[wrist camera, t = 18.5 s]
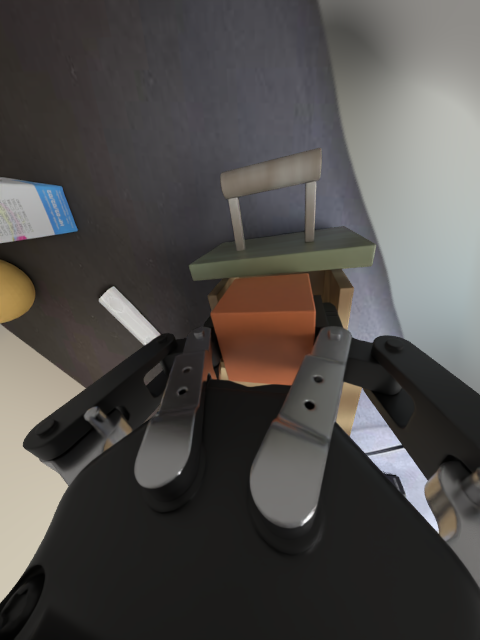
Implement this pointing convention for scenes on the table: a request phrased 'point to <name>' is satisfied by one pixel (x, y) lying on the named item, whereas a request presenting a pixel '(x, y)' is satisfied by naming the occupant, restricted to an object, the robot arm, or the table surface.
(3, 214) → the ink box
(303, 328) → the block
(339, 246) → the drawer
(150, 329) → the white plastic blade
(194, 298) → the table surface
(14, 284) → the stress ball
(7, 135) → the table surface
